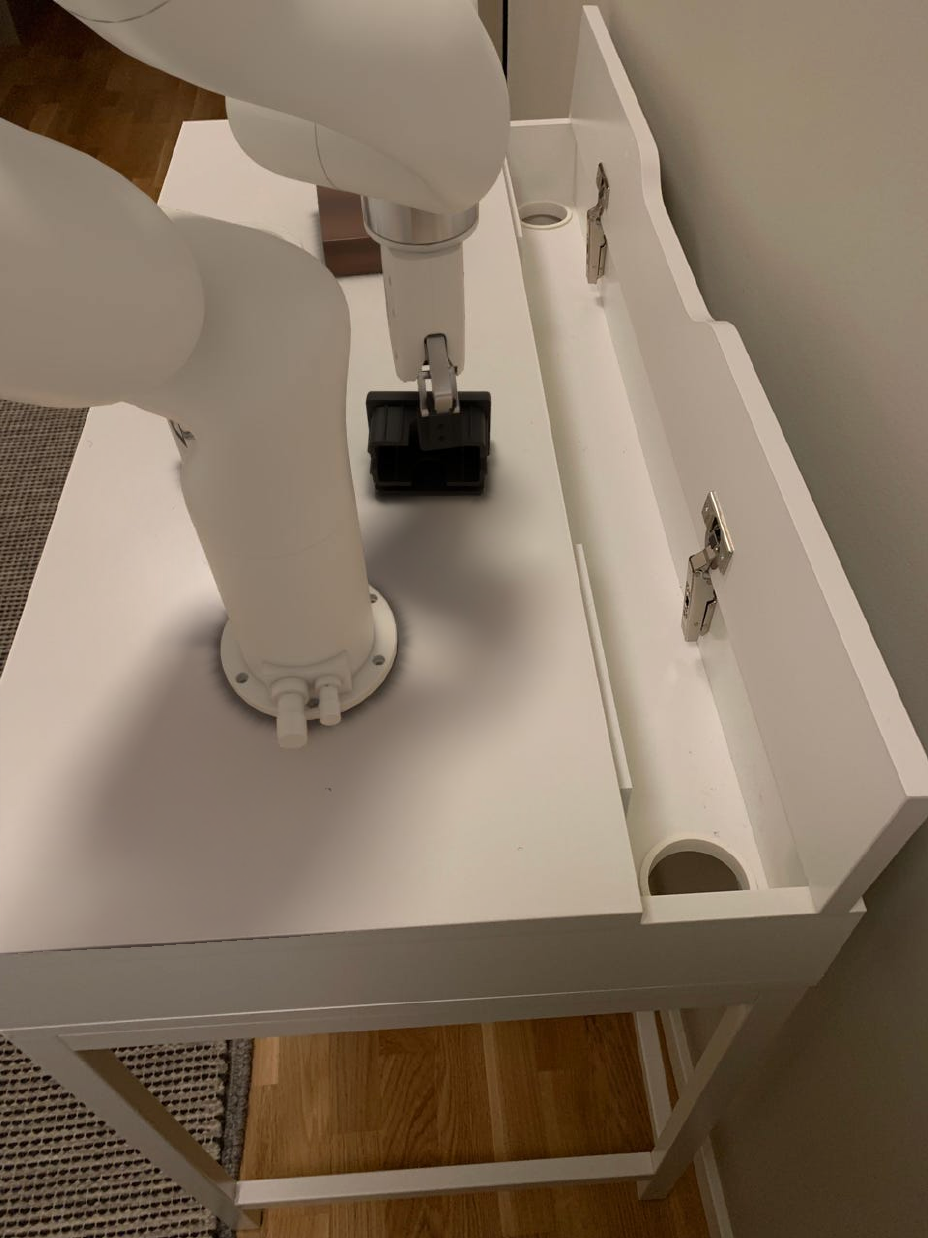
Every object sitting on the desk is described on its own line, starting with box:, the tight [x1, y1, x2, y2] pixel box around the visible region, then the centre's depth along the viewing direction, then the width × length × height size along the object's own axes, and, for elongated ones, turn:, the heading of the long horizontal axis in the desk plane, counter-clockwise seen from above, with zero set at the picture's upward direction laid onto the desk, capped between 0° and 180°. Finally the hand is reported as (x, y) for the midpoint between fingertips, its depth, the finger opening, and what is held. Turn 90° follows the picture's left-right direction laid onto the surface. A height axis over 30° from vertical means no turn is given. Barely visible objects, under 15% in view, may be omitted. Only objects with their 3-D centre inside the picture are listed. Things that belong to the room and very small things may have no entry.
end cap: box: [365, 390, 492, 497], centre depth 72 cm, size 10×7×7 cm
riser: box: [315, 185, 383, 277], centre depth 93 cm, size 12×12×4 cm
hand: (432, 403), depth 70 cm, fingers open, 9 cm apart
